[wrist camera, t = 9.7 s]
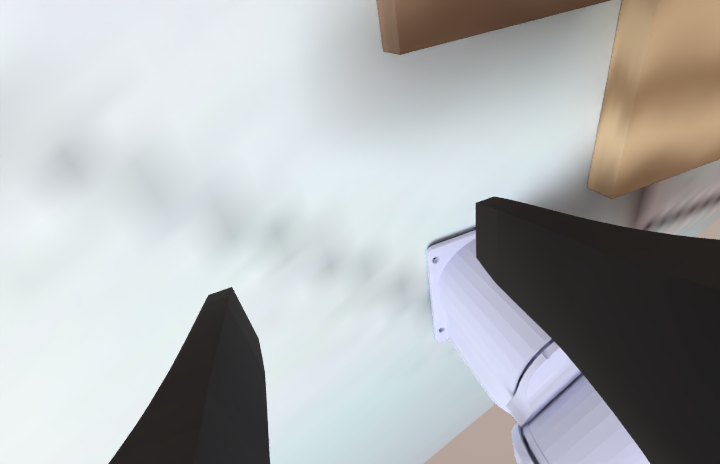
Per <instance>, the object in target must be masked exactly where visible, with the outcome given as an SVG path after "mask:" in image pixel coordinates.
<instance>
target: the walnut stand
mask: <svg viewBox="0 0 720 464" xmlns="http://www.w3.org/2000/svg"><path fill="white" fill-rule="evenodd" d="M606 1H610V0H377V7H378V15H379V22H380V30H381V37H382V45H383V51H384V52H389V53H394V54H399V55H401V54H405V53H409V52H412V51H416V50H420V49H424V48H428V47H432V46H436V45H440V44H443V43H447V42H451V41H455V40H459V39H463V38H467V37H470V36H474V35H478V34H482V33H486V32H490V31H494V30H498V29H501V28H505V27H509V26H513V25H517V24H521V23H525V22H528V21H532V20H536V19H540V18H544V17H548V16H552V15H556V14H559V13H563V12H567V11H571V10H575V9H579V8H583V7H586V6H590V5H594V4H598V3H602V2H606Z"/></svg>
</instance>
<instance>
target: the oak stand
mask: <svg viewBox="0 0 720 464" xmlns="http://www.w3.org/2000/svg"><path fill="white" fill-rule="evenodd" d="M718 159H720V0H622V5H621V10H620V15H619V21H618V26H617V31H616V37H615V42H614V47H613V52H612V58H611V63H610V68H609V74H608V79H607V84H606V90H605V95H604V100H603V105H602V111H601V116H600V121H599V127H598V132H597V137H596V142H595V148H594V153H593V158H592V164H591V169H590V174H589V179H588V185H587V188H589V189H591V190H593V191H595V192H598V193H600V194H602V195H604V196H606V197H608V198H611V199H613V198H615V197H618V196H621V195H623V194H626V193H629V192H632V191H634V190H637V189H640V188H642V187H645V186H648V185H651V184H653V183H656V182H659V181H661V180H664V179H667V178H670V177H672V176H675V175H678V174H680V173H683V172H686V171H689V170H691V169H694V168H697V167H699V166H702V165H705V164H708V163H710V162H713V161H716V160H718Z"/></svg>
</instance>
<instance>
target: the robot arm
mask: <svg viewBox="0 0 720 464" xmlns="http://www.w3.org/2000/svg"><path fill="white" fill-rule="evenodd" d="M435 257H436V258H435ZM426 258H427V268H428V278H429V287H430V297H431V307H432V317H433V326H434V336H435V339H436V341H437V342H438V343H442V342H444V341H447V340H450V341H451V343H452V344H453V345H454V347H455V348H456V350H457V351H458V353H459V354H460V355H461V357H462V358H463V360H464V361H465V363H466V364H467V365H468V367H469V368H470V370H471V371H472V373H473V374H474V375H475V377H476V378H477V380H478V381H479V383H480V384H481V385H482V387H483V388H484V390H485V391H486V393H487V394H488V395H489V397H490V398H491V399H492V400H493V401H494V403H496V404H497V405H498V406H499V407H500V408H502V409H503V410H504V411H506V412H508V413H510V414H512V416H513V417H514V418H515V420H516V421H517V422H518V423H517V424H516V425H515V426H514V427H513V429H512V432H511V436H512V443H513V447H514V454H515V458H516V461H517V463H518V464H720V240H716V239H706V238H695V237H687V236H679V235H671V234H665V233H658V232H651V231H645V230H638V229H633V228H627V227H622V226H617V225H612V224H608V223H603V222H598V221H593V220H589V219H585V218H580V217H576V216H572V215H568V214H564V213H560V212H556V211H552V210H549V209H545V208H541V207H537V206H533V205H529V204H525V203H521V202H517V201H513V200H509V199H504V198H499V197H492V198H489V199H486V200H483V201H480V202H477V203H476V230H474V231H471V232H469V233H466V234H463V235H460V236H457V237H455V238H452V239H449V240H446V241H443V242H441V243H438V244H435V245H432V246H430V247H429V248H428V249H427V251H426ZM433 258H435V259H434V260H433ZM109 464H270V456H269V437H268V419H267V400H266V383H265V371H264V365H263V359H262V354H261V349H260V344H259V338H258V337H257V335H256V333H255V331H254V329H253V327H252V325H251V323H250V321H249V319H248V317H247V315H246V313H245V311H244V310H243V308H242V306H241V304H240V302H239V300H238V298H237V296H236V294H235V292H234V290H233V288H232V287H231V288H228V289H225V290H222V291H219V292H216V293H213V294H210V295H208V297H207V299H206V301H205V303H204V305H203V307H202V309H201V311H200V313H199V315H198V317H197V319H196V321H195V323H194V325H193V327H192V329H191V331H190V333H189V335H188V337H187V338H186V340H185V342H184V344H183V346H182V348H181V350H180V352H179V354H178V355H177V357H176V359H175V361H174V363H173V365H172V367H171V368H170V370H169V372H168V374H167V375H166V377H165V379H164V381H163V382H162V384H161V386H160V387H159V389H158V391H157V392H156V394H155V396H154V397H153V399H152V401H151V402H150V404H149V406H148V407H147V409H146V410H145V412H144V414H143V415H142V417H141V418H140V420H139V421H138V423H137V424H136V426H135V427H134V429H133V430H132V431H131V433H130V434H129V436H128V437H127V439H126V440H125V441H124V443H123V444H122V446H121V447H120V449H119V450H118V451H117V453H116V454H115V456H114V457H113V458H112V460H111V461H110V462H109Z"/></svg>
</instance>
